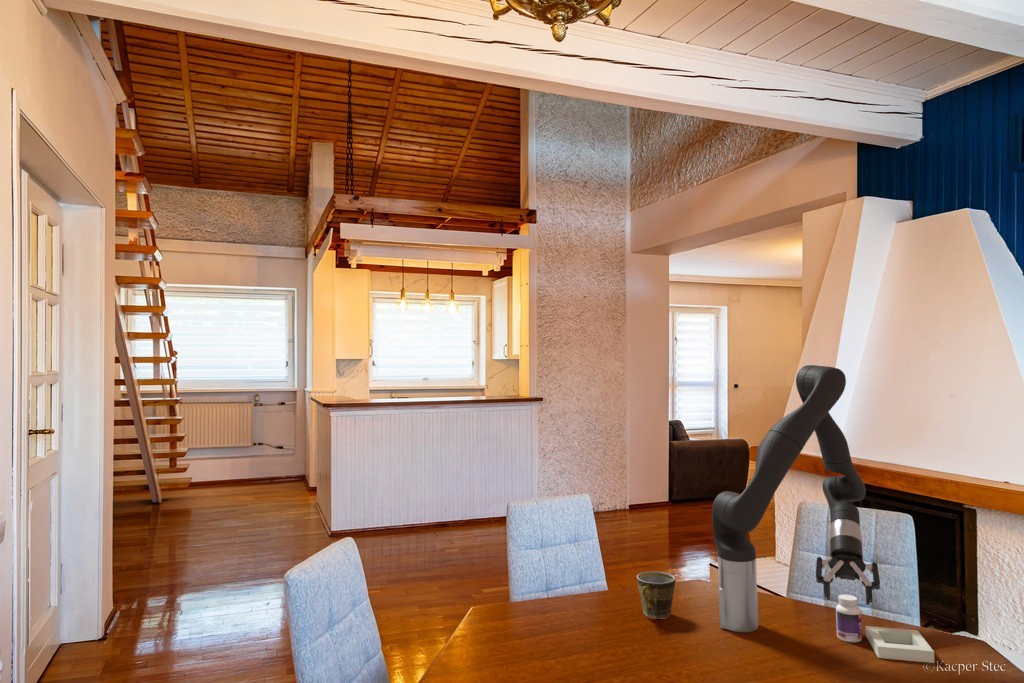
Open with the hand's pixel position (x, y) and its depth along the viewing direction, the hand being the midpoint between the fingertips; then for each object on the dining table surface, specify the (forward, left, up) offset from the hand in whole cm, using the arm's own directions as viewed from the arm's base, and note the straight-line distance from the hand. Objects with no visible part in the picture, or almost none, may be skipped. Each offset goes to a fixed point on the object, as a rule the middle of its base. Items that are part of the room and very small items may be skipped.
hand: (848, 600), depth 162 cm
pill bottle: (-1, -3, -8) cm, 9 cm away
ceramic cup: (-47, 0, -8) cm, 47 cm away
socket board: (+9, -7, -8) cm, 14 cm away
